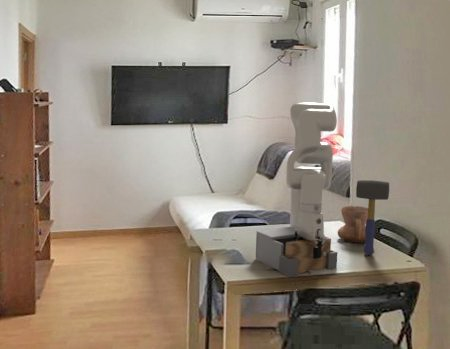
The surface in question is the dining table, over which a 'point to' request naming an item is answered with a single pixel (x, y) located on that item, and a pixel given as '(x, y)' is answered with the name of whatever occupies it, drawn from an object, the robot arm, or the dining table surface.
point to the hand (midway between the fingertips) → (308, 254)
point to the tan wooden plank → (308, 254)
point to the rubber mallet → (371, 206)
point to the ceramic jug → (353, 223)
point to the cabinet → (282, 250)
